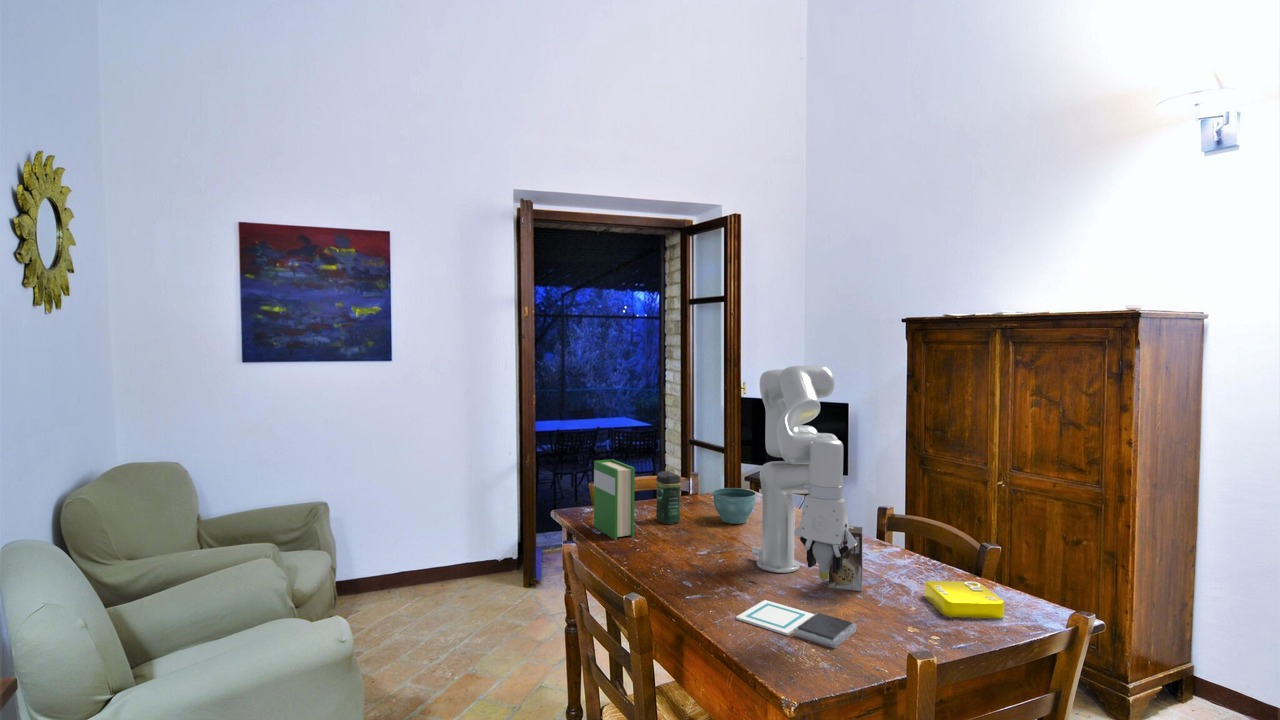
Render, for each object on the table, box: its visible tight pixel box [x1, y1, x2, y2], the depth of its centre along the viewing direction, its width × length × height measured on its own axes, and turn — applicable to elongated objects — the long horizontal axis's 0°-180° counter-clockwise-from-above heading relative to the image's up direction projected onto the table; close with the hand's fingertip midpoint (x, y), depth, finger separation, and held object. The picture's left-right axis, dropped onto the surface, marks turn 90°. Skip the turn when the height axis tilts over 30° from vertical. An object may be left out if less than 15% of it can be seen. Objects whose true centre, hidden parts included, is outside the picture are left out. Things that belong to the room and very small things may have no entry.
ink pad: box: [793, 612, 858, 649], centre depth 157 cm, size 10×12×2 cm
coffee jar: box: [655, 470, 682, 525], centre depth 251 cm, size 10×8×19 cm
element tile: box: [924, 580, 1005, 619], centre depth 174 cm, size 15×15×5 cm
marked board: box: [735, 599, 816, 636], centre depth 165 cm, size 14×14×1 cm
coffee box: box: [827, 525, 864, 592], centre depth 187 cm, size 9×6×16 cm
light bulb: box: [812, 541, 835, 582], centre depth 157 cm, size 6×6×10 cm
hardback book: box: [593, 459, 636, 541], centre depth 238 cm, size 18×7×24 cm, turn 28°
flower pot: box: [712, 487, 757, 525], centre depth 253 cm, size 16×16×11 cm
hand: (824, 568), depth 157 cm, fingers closed on light bulb, 5 cm apart
